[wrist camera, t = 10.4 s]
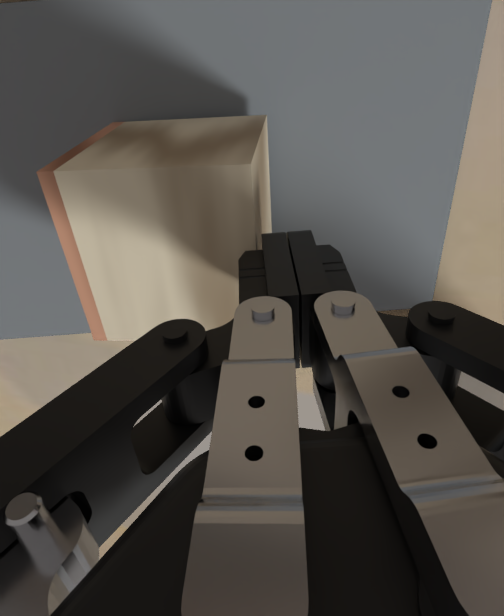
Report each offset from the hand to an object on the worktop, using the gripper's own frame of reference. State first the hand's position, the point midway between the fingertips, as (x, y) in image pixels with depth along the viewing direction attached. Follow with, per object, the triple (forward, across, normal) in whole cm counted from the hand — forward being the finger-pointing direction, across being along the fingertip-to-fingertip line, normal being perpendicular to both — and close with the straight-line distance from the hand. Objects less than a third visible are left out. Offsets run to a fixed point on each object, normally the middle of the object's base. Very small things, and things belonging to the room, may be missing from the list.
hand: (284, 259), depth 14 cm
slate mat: (+7, +4, 0) cm, 8 cm away
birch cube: (+3, 0, 0) cm, 3 cm away
